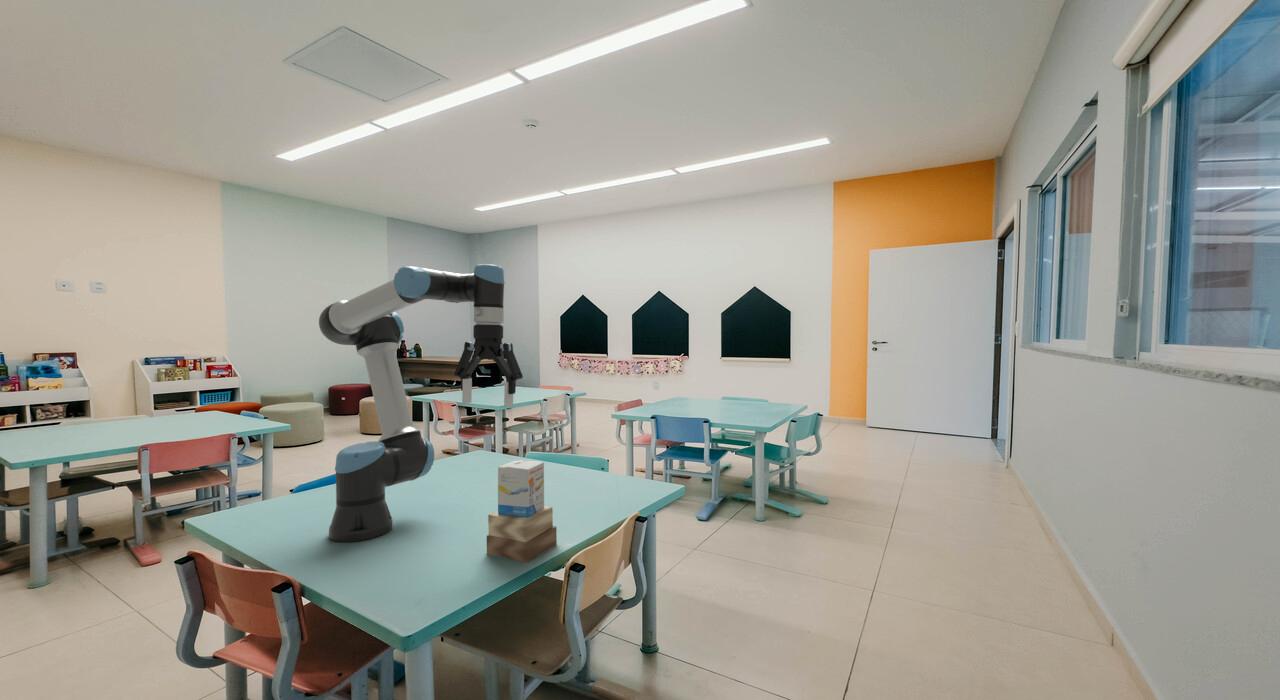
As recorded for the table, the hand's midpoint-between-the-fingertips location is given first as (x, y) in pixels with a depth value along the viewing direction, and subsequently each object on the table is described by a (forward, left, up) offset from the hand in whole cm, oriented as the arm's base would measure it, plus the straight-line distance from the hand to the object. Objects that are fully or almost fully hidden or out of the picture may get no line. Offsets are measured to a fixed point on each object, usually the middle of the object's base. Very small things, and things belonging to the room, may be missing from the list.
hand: (487, 404), depth 134 cm
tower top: (+13, -4, -30) cm, 33 cm away
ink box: (+13, -4, -26) cm, 29 cm away
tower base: (+13, -4, -35) cm, 38 cm away
